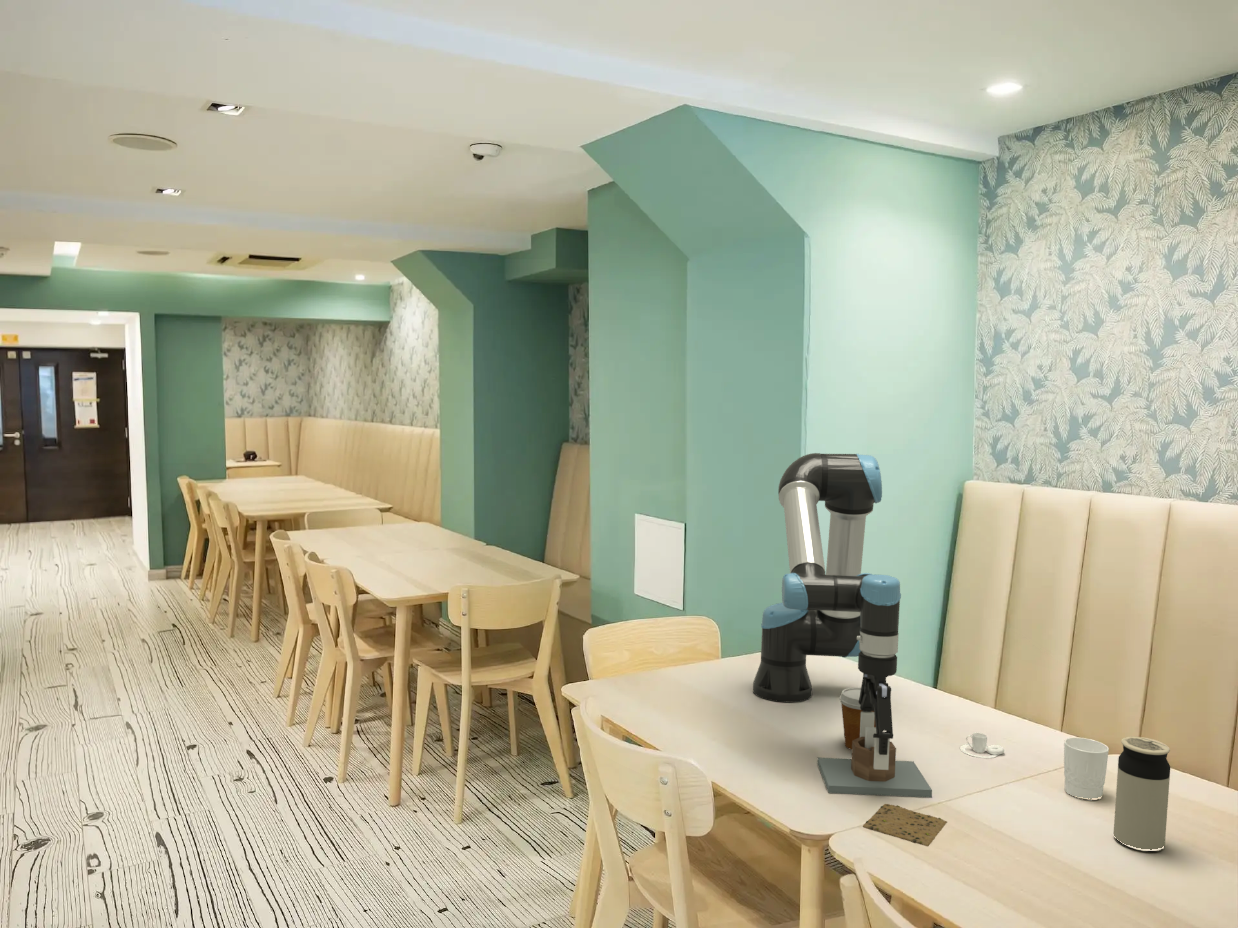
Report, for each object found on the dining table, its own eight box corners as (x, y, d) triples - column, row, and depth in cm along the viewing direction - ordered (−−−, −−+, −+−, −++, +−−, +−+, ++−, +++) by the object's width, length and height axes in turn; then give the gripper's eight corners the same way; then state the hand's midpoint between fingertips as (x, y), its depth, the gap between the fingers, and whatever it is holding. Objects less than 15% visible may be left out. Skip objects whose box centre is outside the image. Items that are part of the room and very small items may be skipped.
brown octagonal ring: (848, 764, 193) (849, 735, 193) (888, 765, 193) (889, 736, 192) (856, 780, 185) (857, 750, 185) (897, 781, 185) (899, 751, 184)
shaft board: (817, 764, 197) (819, 715, 196) (913, 768, 196) (915, 719, 195) (828, 792, 183) (830, 740, 182) (931, 797, 182) (934, 745, 181)
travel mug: (1143, 857, 160) (1150, 755, 158) (1103, 836, 167) (1109, 738, 165) (1175, 848, 163) (1182, 749, 161) (1133, 828, 170) (1140, 733, 169)
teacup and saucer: (1007, 754, 205) (1008, 736, 205) (993, 764, 200) (994, 745, 199) (968, 743, 211) (969, 725, 211) (953, 752, 206) (954, 734, 205)
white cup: (1088, 805, 180) (1091, 755, 179) (1052, 789, 187) (1055, 740, 186) (1114, 797, 183) (1117, 748, 182) (1078, 782, 190) (1081, 734, 189)
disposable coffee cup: (832, 749, 205) (834, 696, 204) (843, 735, 213) (845, 684, 212) (876, 758, 201) (878, 703, 200) (885, 743, 209) (888, 691, 208)
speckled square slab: (929, 849, 162) (929, 843, 162) (861, 828, 169) (861, 823, 169) (948, 823, 172) (949, 818, 171) (884, 805, 179) (884, 800, 178)
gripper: (847, 635, 200) (843, 731, 201) (872, 670, 175) (867, 779, 176) (882, 636, 199) (878, 733, 201) (912, 672, 174) (907, 781, 176)
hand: (873, 755), depth 189 cm, fingers open, 13 cm apart
